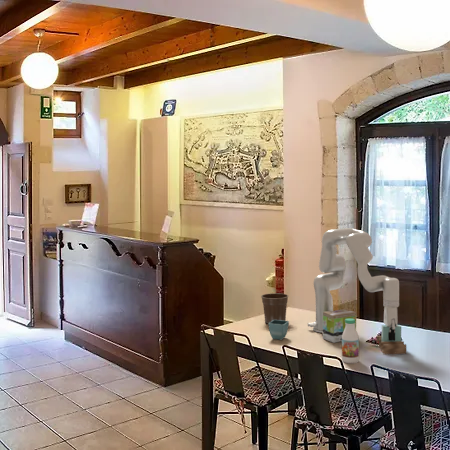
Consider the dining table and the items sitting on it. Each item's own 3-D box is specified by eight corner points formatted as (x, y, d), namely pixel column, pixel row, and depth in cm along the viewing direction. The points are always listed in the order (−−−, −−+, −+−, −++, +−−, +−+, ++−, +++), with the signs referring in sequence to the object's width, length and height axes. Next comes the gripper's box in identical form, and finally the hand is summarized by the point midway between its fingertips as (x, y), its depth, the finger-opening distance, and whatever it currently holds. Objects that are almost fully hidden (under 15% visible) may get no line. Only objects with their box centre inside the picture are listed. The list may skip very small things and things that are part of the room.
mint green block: (382, 346, 303) (382, 326, 302) (381, 344, 306) (381, 325, 305) (401, 346, 303) (401, 326, 302) (399, 344, 306) (399, 325, 305)
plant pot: (262, 318, 372) (262, 292, 371) (289, 319, 370) (288, 292, 369) (260, 325, 356) (260, 298, 355) (288, 326, 354) (287, 298, 353)
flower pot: (289, 337, 330) (289, 320, 330) (283, 341, 322) (283, 324, 322) (274, 335, 334) (273, 319, 333) (268, 339, 326) (268, 323, 325)
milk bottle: (340, 359, 290) (339, 317, 288) (355, 358, 291) (355, 317, 289) (344, 364, 283) (344, 321, 281) (360, 363, 283) (360, 320, 281)
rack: (383, 353, 297) (383, 345, 296) (376, 344, 313) (376, 336, 312) (406, 353, 296) (406, 344, 296) (398, 344, 312) (398, 335, 312)
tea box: (334, 343, 317) (333, 315, 315) (322, 338, 326) (322, 311, 324) (356, 339, 324) (356, 311, 322) (344, 334, 332) (344, 308, 331)
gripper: (380, 299, 311) (380, 335, 312) (386, 306, 295) (386, 344, 296) (395, 299, 310) (395, 334, 312) (402, 306, 294) (402, 344, 296)
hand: (391, 339), depth 304 cm, fingers closed on mint green block, 2 cm apart
